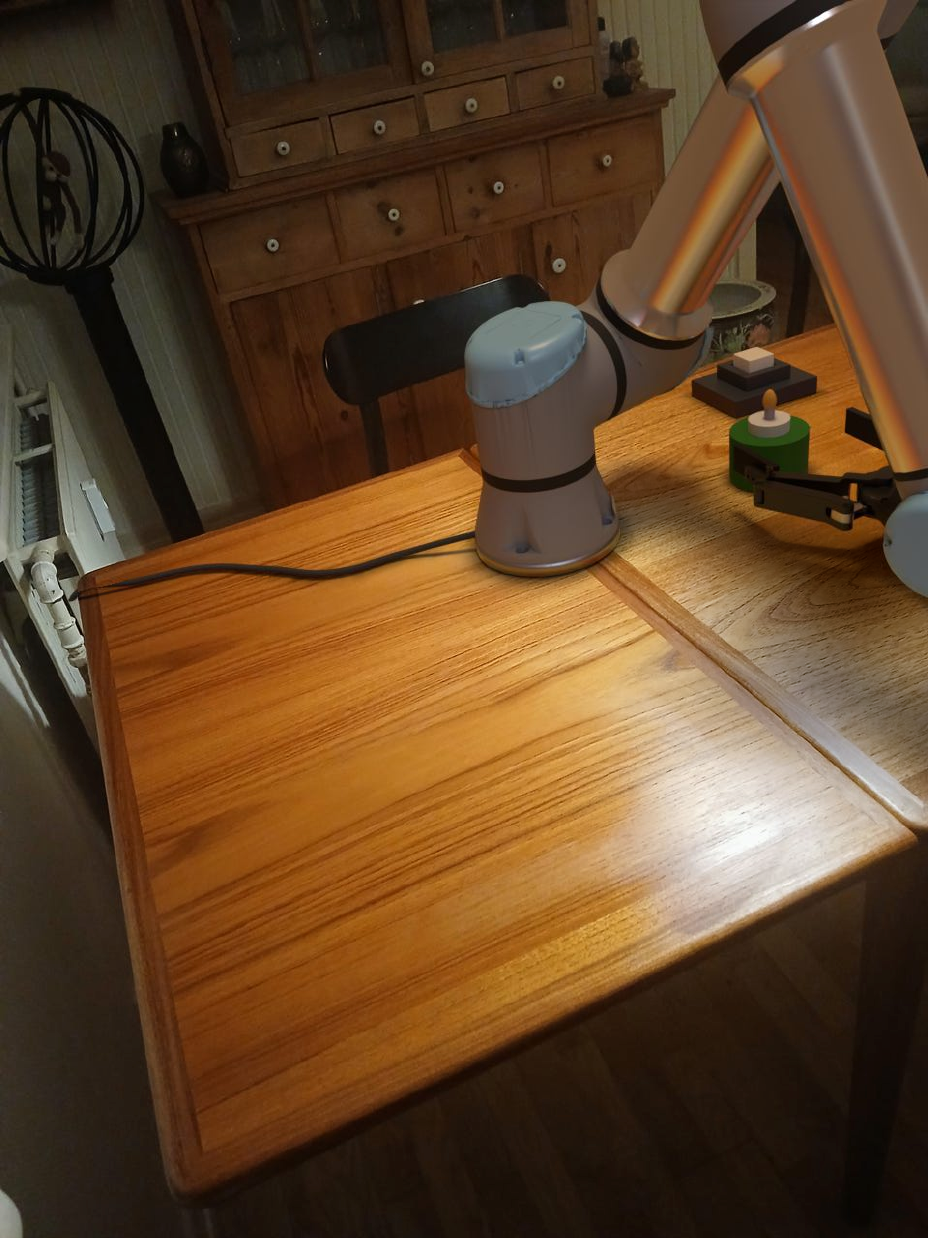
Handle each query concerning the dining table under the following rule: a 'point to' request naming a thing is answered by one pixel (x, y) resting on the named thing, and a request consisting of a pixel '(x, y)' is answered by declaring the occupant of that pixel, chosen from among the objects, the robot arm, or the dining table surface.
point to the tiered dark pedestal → (752, 387)
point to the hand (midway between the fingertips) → (792, 437)
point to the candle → (771, 440)
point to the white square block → (753, 359)
